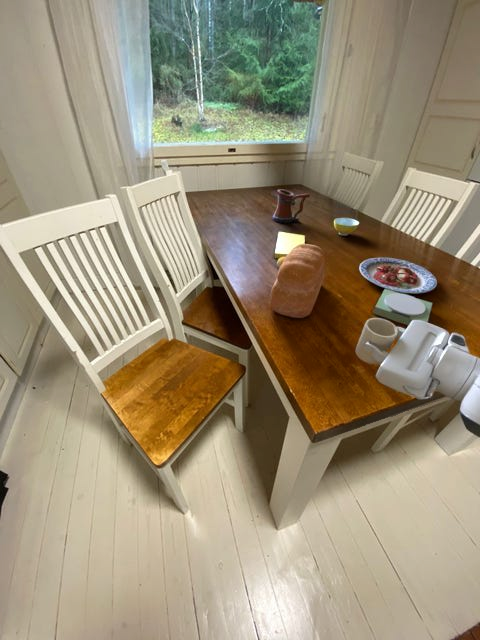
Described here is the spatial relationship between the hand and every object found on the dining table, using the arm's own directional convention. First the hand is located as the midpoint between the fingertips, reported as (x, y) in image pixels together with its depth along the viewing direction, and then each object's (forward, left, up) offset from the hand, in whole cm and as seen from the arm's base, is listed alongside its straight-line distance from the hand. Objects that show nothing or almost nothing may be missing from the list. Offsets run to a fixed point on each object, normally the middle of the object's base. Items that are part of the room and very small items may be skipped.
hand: (372, 335), depth 59 cm
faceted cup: (-1, 0, -5) cm, 5 cm away
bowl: (+32, -85, -12) cm, 91 cm away
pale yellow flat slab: (+46, -55, -12) cm, 72 cm away
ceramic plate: (+2, -53, -12) cm, 54 cm away
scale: (-4, -32, -11) cm, 34 cm away
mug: (+63, -87, -12) cm, 108 cm away
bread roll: (+38, -38, -12) cm, 55 cm away
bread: (+26, -21, -12) cm, 36 cm away
